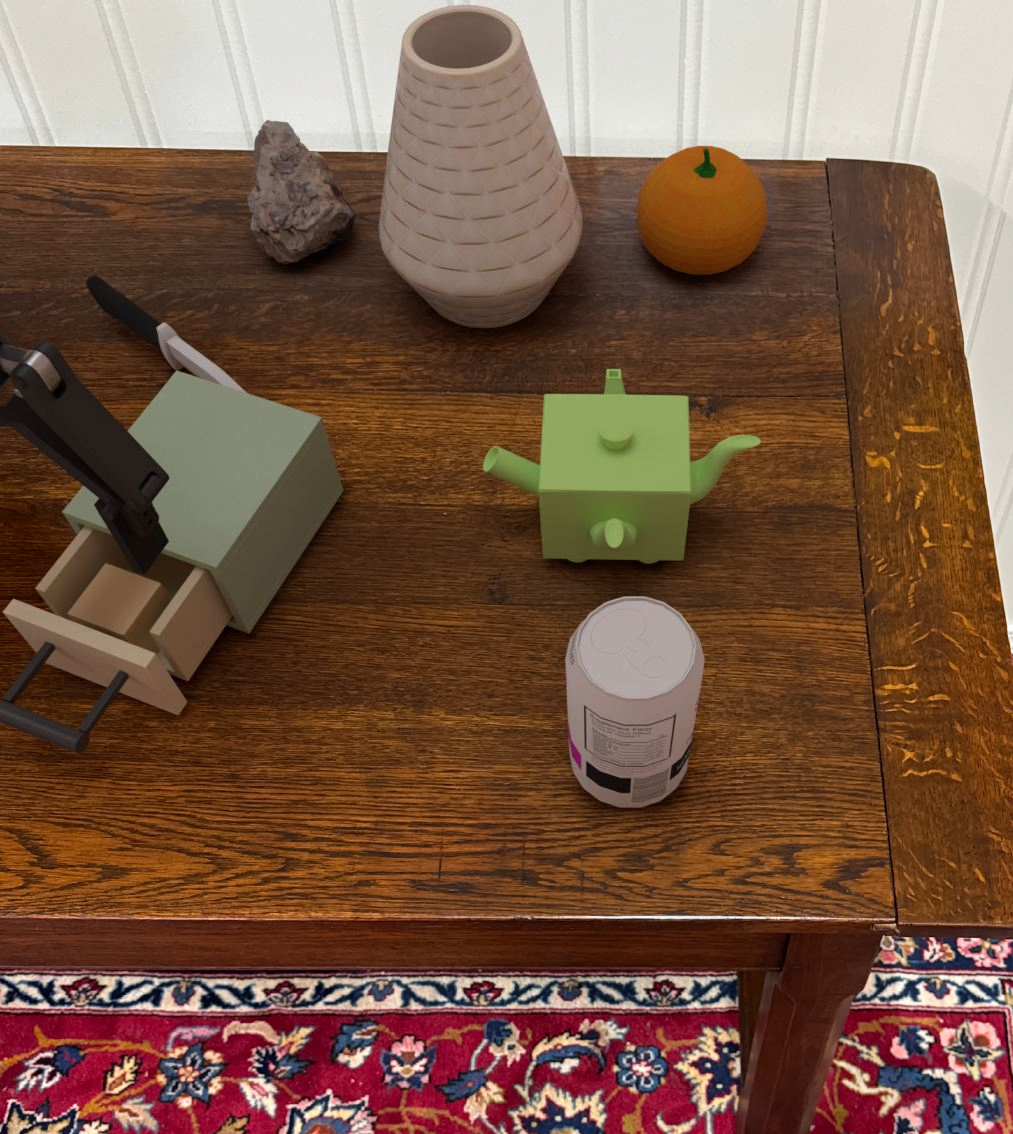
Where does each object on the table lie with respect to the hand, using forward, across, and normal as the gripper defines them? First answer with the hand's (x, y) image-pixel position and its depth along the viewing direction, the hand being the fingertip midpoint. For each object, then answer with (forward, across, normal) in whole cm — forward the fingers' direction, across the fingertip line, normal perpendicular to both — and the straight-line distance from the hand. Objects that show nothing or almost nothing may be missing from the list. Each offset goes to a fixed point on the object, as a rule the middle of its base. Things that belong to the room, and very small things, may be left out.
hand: (58, 521), depth 70 cm
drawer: (+14, 0, 0) cm, 14 cm away
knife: (+16, -10, +24) cm, 31 cm away
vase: (+16, +8, +44) cm, 48 cm away
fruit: (+16, +24, +56) cm, 63 cm away
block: (+13, 0, 0) cm, 13 cm away
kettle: (+15, +28, +23) cm, 40 cm away
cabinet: (+16, 0, +11) cm, 19 cm away
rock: (+16, -12, +43) cm, 48 cm away
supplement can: (+15, +36, +5) cm, 40 cm away
